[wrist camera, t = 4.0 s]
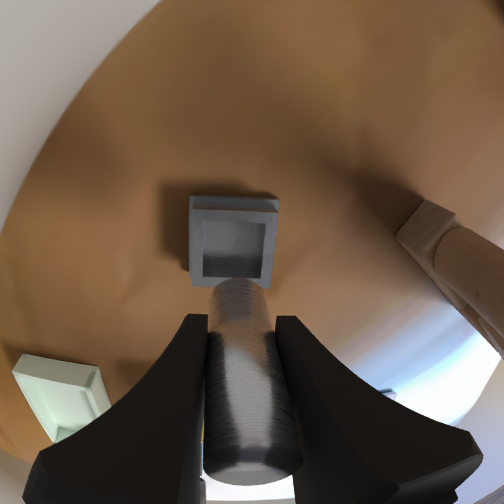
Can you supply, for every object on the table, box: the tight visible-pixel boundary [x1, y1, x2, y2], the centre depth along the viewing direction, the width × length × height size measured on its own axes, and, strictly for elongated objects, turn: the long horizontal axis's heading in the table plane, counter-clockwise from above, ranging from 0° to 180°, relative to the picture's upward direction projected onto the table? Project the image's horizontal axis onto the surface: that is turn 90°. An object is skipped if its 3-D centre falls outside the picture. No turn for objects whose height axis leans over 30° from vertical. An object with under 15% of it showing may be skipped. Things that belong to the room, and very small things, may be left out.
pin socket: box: [189, 194, 279, 288], centre depth 18 cm, size 5×5×2 cm
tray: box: [12, 353, 112, 443], centre depth 23 cm, size 8×11×2 cm
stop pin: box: [203, 278, 303, 486], centre depth 9 cm, size 2×2×7 cm
